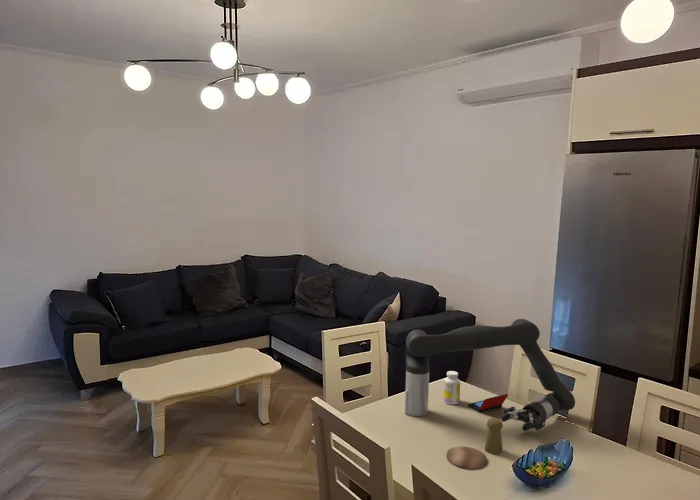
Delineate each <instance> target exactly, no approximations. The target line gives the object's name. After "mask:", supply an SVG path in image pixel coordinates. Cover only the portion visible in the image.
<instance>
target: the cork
mask: <svg viewBox="0 0 700 500" xmlns="http://www.w3.org/2000/svg"><path fill="white" fill-rule="evenodd" d="M503 426H504V425H503V421H502V419H499V418H496V417H490V418H488V419H487V422H486V427H487V429H488V430H487V434H486V439H485V440H486V441H485V445H484V451H485V452H486V453H488V454H490V455H494V456H497V455H501V454H503V449H504V448H503V440H502V429H503Z"/></svg>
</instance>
